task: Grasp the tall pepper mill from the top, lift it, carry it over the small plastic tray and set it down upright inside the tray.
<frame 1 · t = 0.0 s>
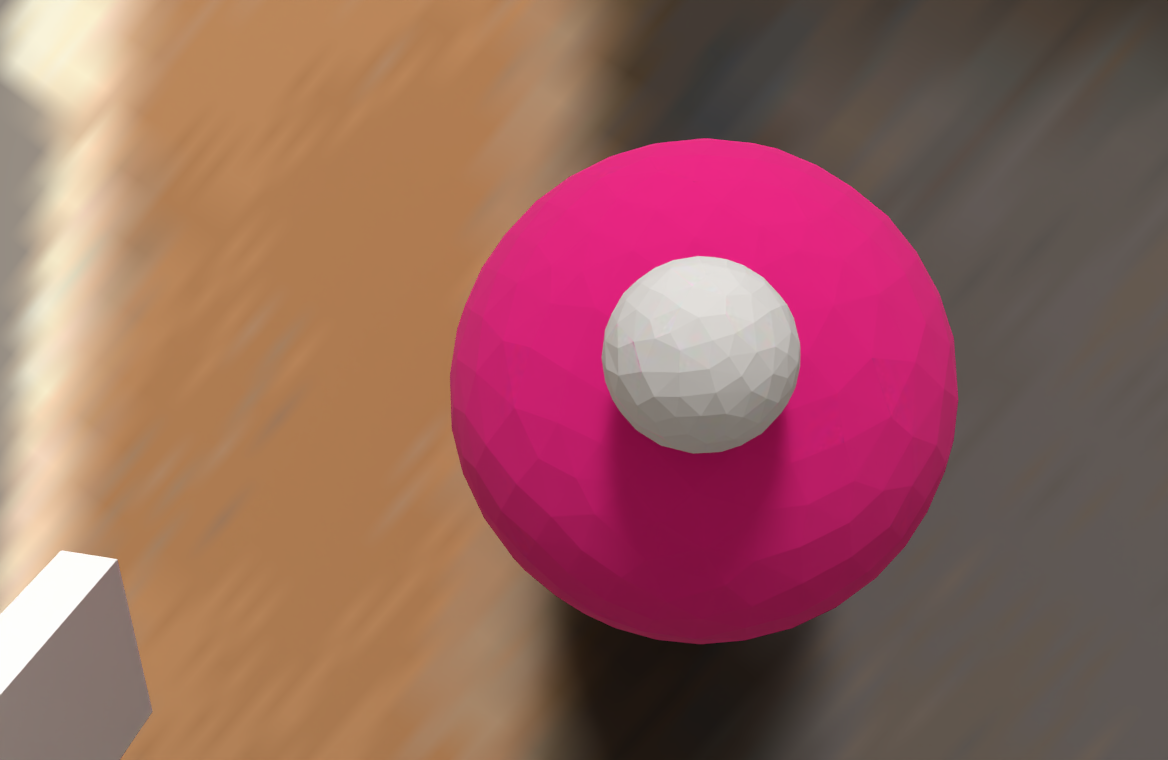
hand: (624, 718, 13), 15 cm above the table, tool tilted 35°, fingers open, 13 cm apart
pepper mill: (692, 446, 28), on the table
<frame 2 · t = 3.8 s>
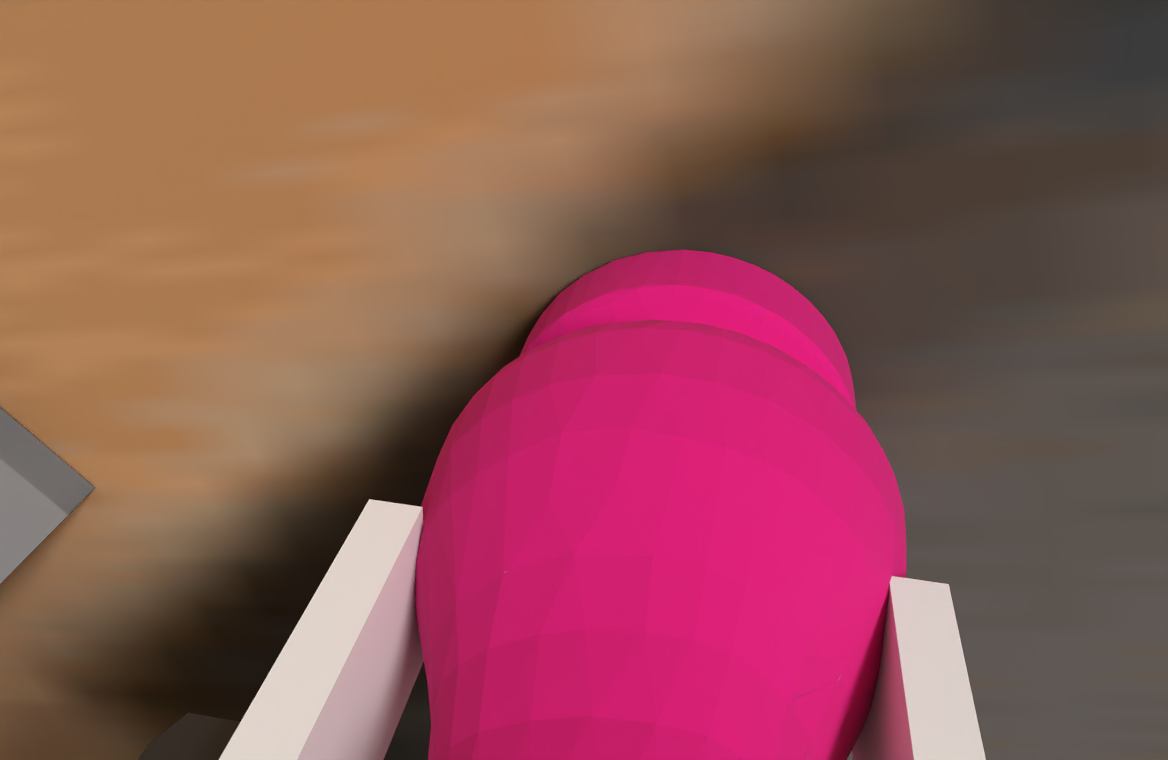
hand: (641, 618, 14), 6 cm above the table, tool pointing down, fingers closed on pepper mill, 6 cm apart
pepper mill: (683, 395, 19), on the table, touching gripper
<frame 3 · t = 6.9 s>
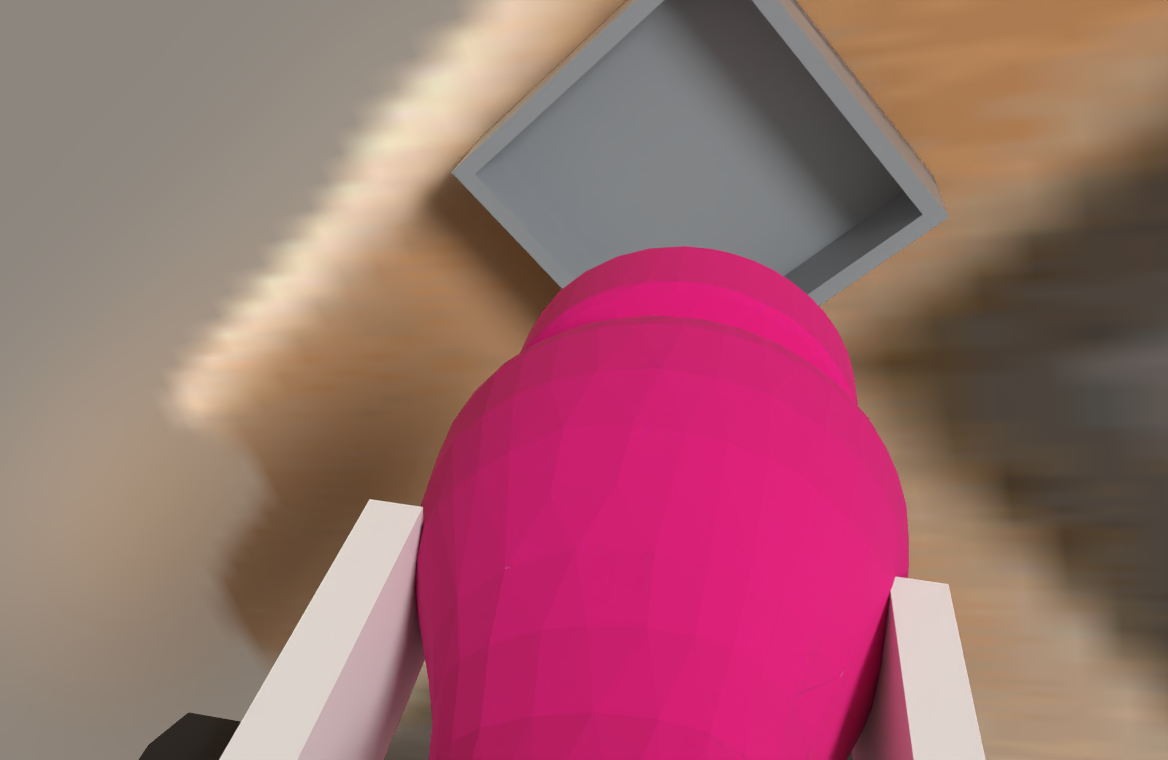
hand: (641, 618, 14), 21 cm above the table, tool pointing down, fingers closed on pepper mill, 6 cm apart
pepper mill: (684, 392, 19), point 15 cm above the table, touching gripper
tray: (700, 156, 32), on the table
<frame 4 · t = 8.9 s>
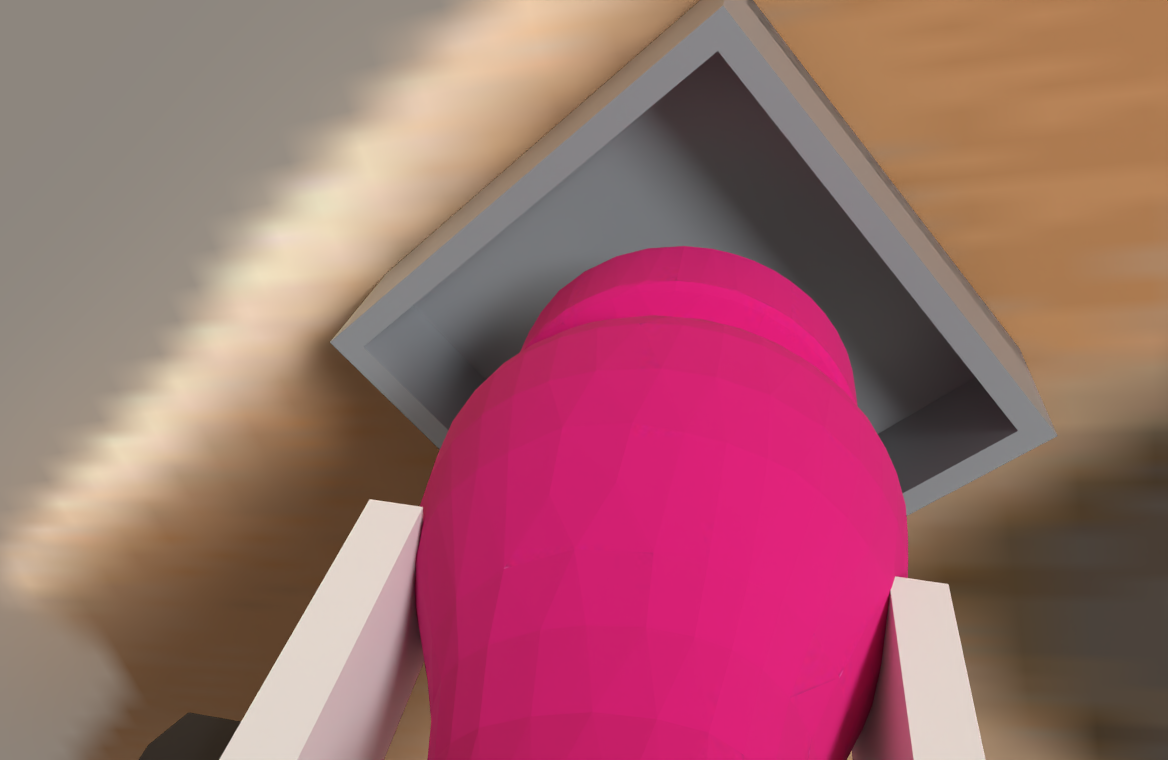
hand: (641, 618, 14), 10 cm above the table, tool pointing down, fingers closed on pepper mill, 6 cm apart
pepper mill: (683, 392, 19), point 4 cm above the table, touching gripper
tray: (691, 309, 23), on the table
when the fingers open (8 cm above the table, at t = 10.1 s): pepper mill drops 1 cm, resting on tray.
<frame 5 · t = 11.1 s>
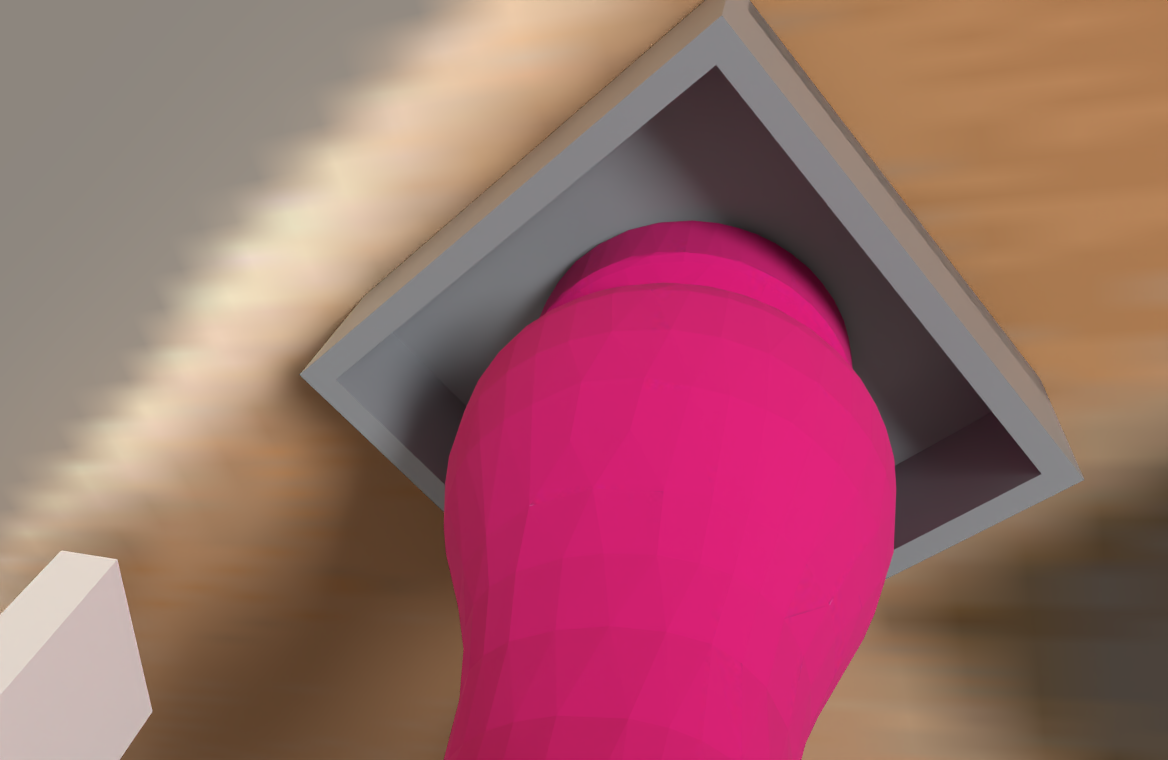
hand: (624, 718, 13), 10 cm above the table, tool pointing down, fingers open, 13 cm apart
pepper mill: (691, 358, 21), point 1 cm above the table, touching tray
tray: (689, 335, 21), on the table
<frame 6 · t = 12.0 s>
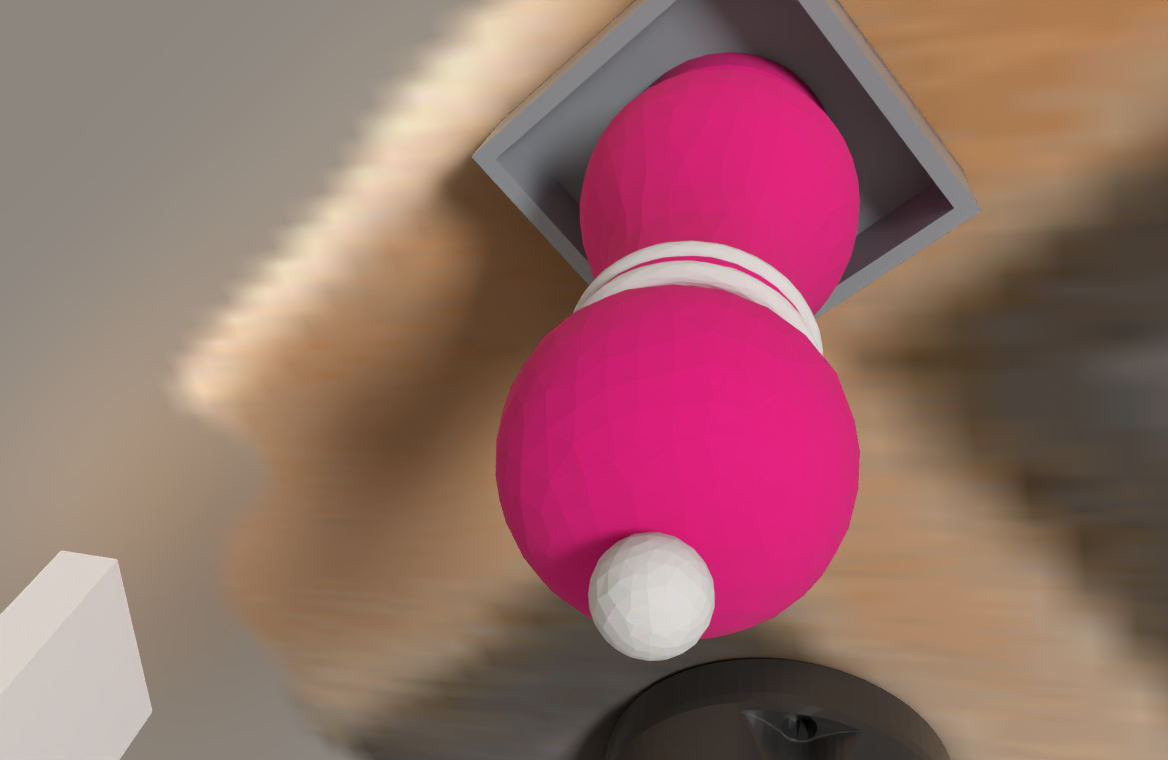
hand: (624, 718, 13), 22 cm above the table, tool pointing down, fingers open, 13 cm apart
pepper mill: (727, 155, 31), point 1 cm above the table, touching tray
tray: (725, 144, 31), on the table
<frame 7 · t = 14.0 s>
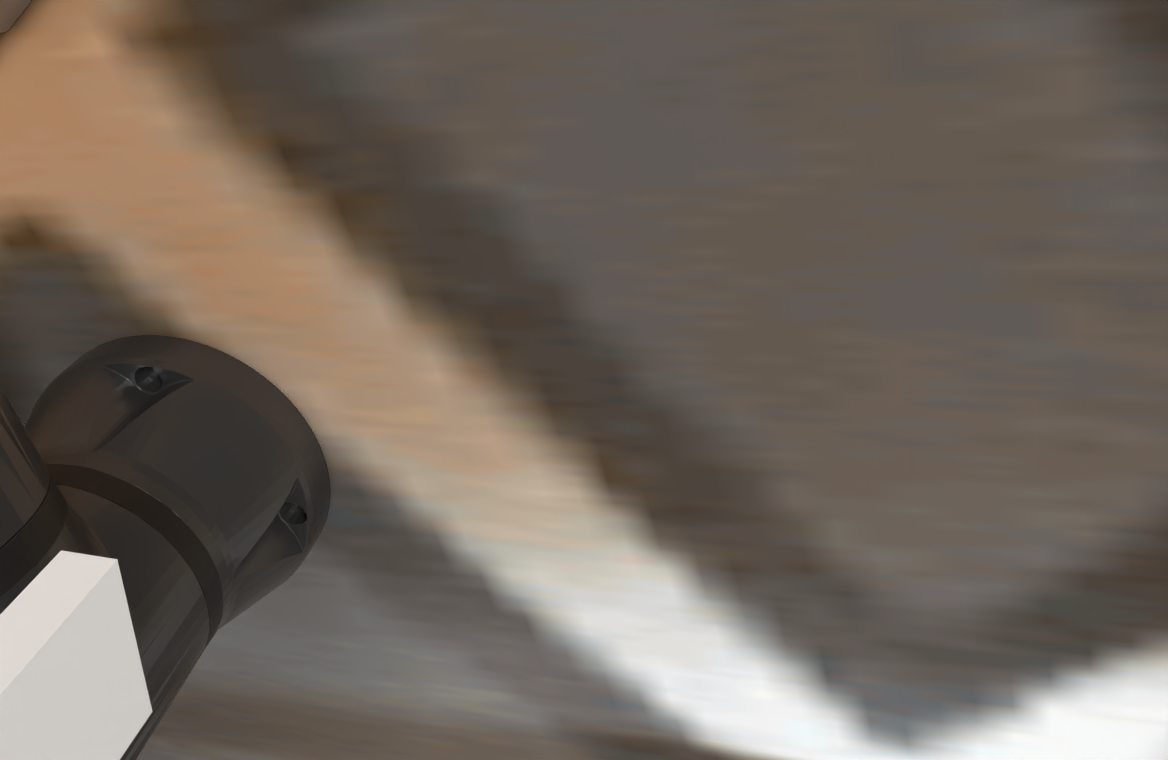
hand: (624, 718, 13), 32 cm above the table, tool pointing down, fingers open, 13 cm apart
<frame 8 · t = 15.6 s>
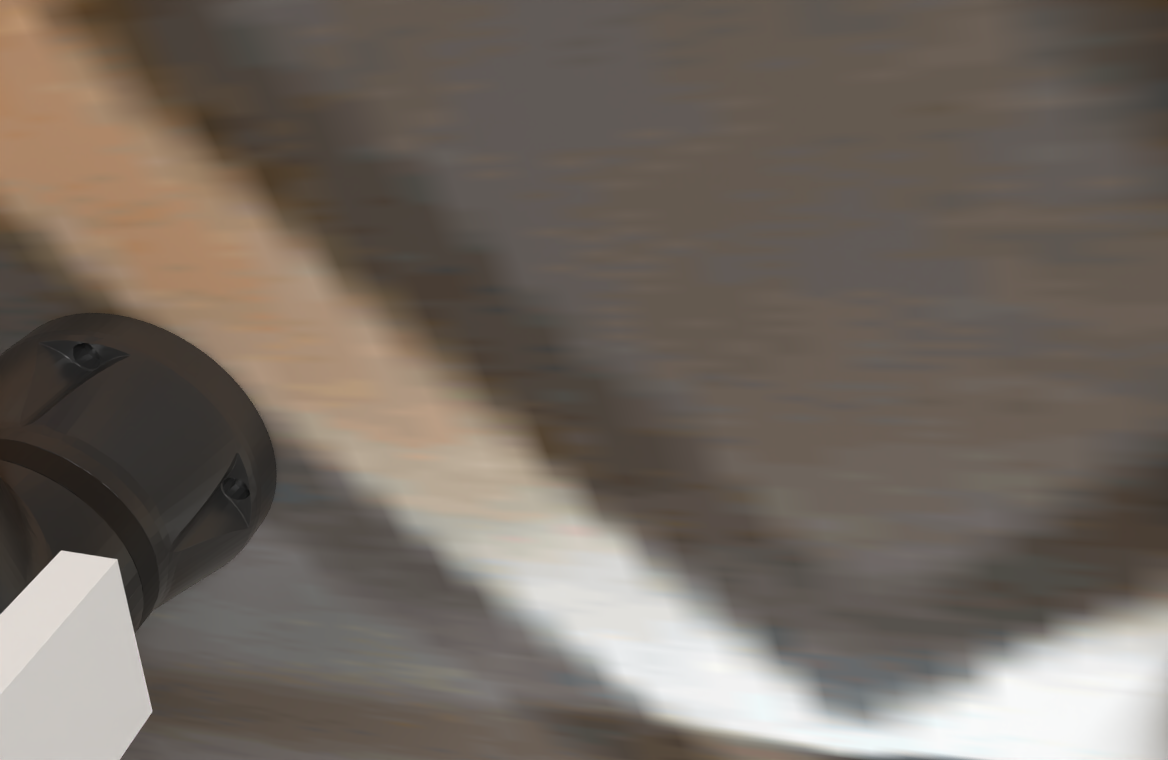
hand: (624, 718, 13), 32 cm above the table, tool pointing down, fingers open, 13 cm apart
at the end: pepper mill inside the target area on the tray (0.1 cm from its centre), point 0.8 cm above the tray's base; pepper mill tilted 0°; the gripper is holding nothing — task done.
